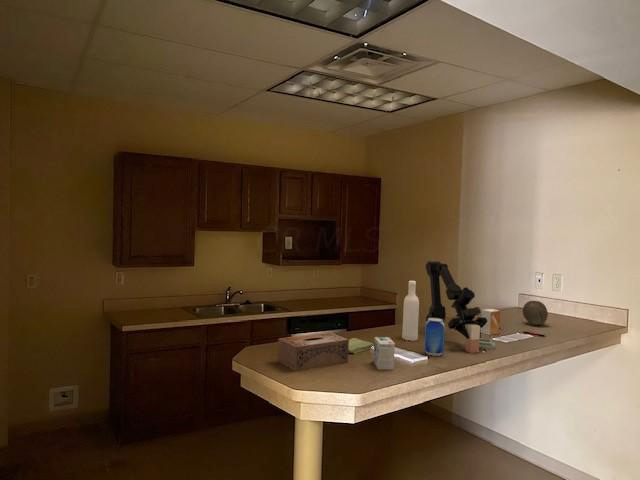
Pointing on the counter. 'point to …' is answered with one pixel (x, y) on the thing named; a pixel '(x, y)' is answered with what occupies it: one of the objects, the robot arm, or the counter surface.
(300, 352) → the tissue box cover
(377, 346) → the light bulb box
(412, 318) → the bottle
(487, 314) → the small box
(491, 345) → the baseplate
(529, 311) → the cantaloupe
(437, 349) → the beer can
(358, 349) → the washcloth
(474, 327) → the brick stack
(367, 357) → the counter surface
